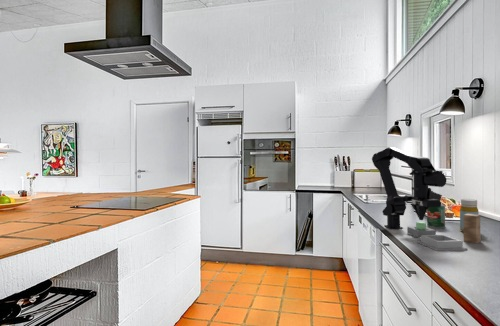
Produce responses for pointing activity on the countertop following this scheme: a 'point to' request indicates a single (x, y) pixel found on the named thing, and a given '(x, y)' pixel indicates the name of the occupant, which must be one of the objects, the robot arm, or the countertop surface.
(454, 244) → the grey square socket
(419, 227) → the button
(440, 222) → the canned tomato
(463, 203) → the bottle
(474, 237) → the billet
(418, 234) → the switch box
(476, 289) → the countertop surface
